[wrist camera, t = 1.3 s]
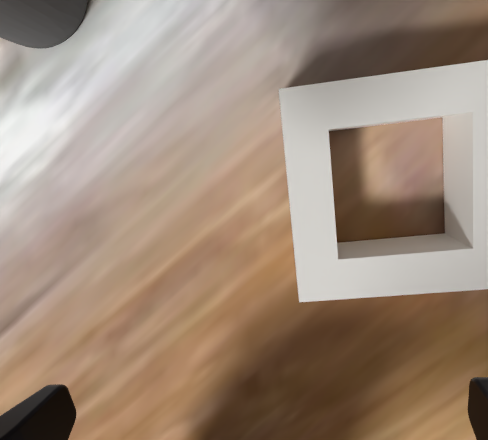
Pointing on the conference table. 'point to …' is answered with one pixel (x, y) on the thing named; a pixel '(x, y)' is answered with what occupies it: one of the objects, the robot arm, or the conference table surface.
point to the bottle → (40, 21)
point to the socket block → (402, 248)
